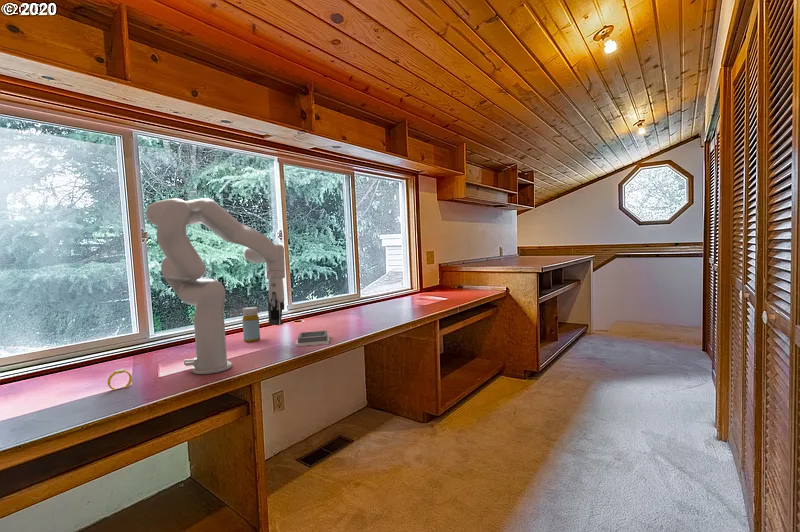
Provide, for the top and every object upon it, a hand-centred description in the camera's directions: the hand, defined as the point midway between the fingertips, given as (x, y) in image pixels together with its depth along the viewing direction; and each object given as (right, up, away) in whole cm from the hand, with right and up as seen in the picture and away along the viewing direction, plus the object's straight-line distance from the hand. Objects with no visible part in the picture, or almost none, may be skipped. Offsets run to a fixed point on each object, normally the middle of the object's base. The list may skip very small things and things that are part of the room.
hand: (276, 318), depth 162 cm
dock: (+13, -12, +11) cm, 21 cm away
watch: (-36, -17, -40) cm, 56 cm away
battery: (0, -3, 0) cm, 3 cm away
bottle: (-17, -13, +19) cm, 28 cm away
